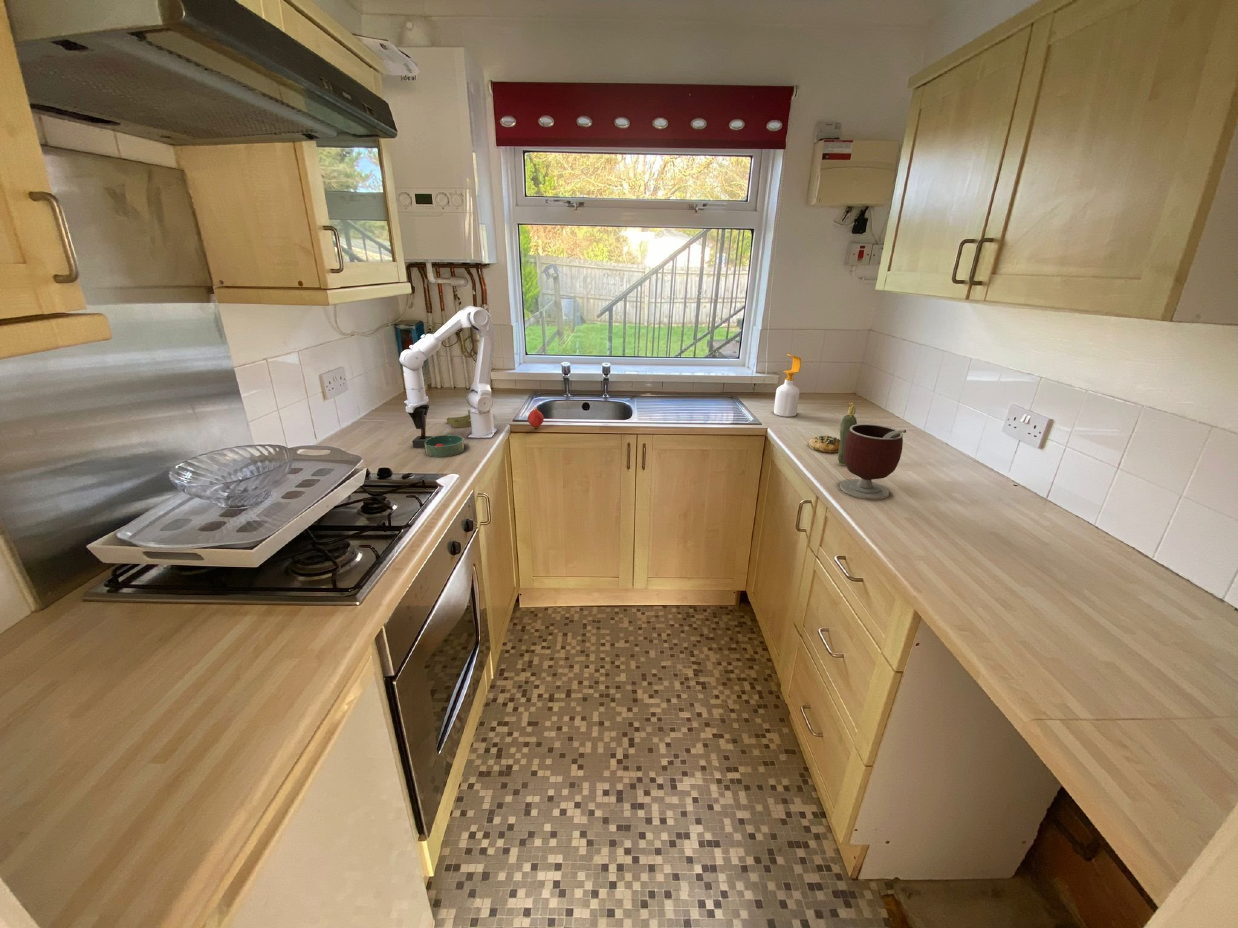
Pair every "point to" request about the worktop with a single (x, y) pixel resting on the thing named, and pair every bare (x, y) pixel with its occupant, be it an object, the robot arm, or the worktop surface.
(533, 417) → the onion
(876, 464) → the mate gourd
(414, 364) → the robot arm
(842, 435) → the vegetable
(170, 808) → the worktop surface
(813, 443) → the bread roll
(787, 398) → the soap bottle
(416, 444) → the holder
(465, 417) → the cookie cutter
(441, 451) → the bowl
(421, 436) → the stick
